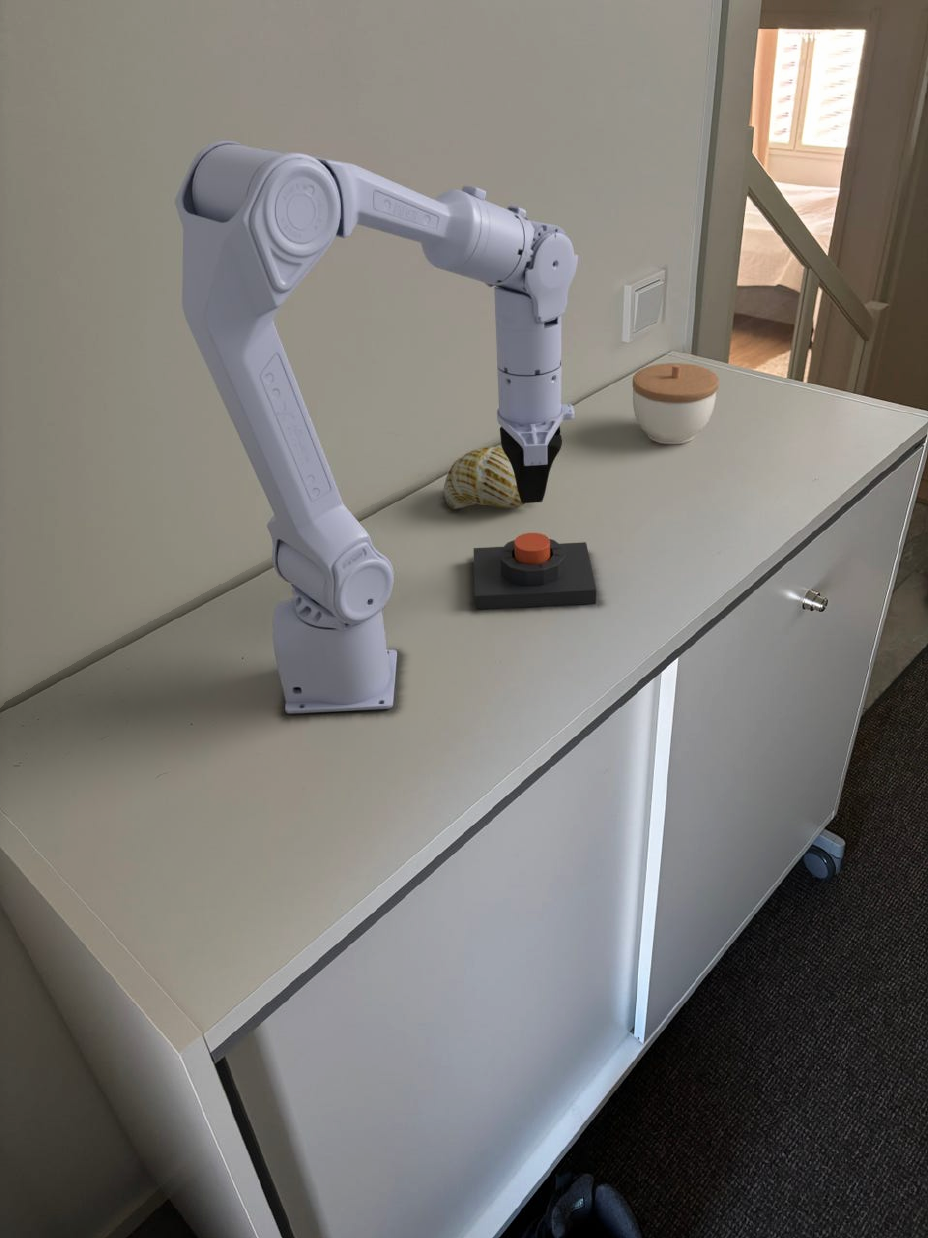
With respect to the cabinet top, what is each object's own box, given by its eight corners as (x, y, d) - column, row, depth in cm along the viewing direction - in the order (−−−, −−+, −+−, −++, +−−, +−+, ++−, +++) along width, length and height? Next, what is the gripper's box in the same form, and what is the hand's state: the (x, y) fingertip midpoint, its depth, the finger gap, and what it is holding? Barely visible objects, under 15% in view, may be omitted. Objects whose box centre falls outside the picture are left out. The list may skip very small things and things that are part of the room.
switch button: (515, 566, 92) (515, 551, 91) (513, 547, 95) (513, 533, 94) (551, 564, 92) (551, 549, 91) (548, 545, 95) (548, 531, 94)
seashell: (424, 495, 110) (450, 414, 107) (487, 507, 116) (513, 431, 113) (467, 526, 103) (497, 440, 100) (533, 537, 108) (562, 456, 105)
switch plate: (475, 609, 92) (474, 580, 90) (474, 561, 99) (472, 533, 97) (596, 603, 92) (597, 574, 89) (585, 555, 99) (586, 527, 97)
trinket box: (730, 435, 120) (738, 366, 115) (671, 460, 115) (676, 389, 110) (671, 410, 127) (676, 344, 122) (613, 433, 123) (615, 364, 117)
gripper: (583, 393, 76) (580, 535, 84) (566, 333, 87) (565, 462, 95) (497, 398, 76) (503, 539, 84) (492, 338, 88) (497, 466, 96)
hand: (531, 499), depth 90 cm, fingers closed
